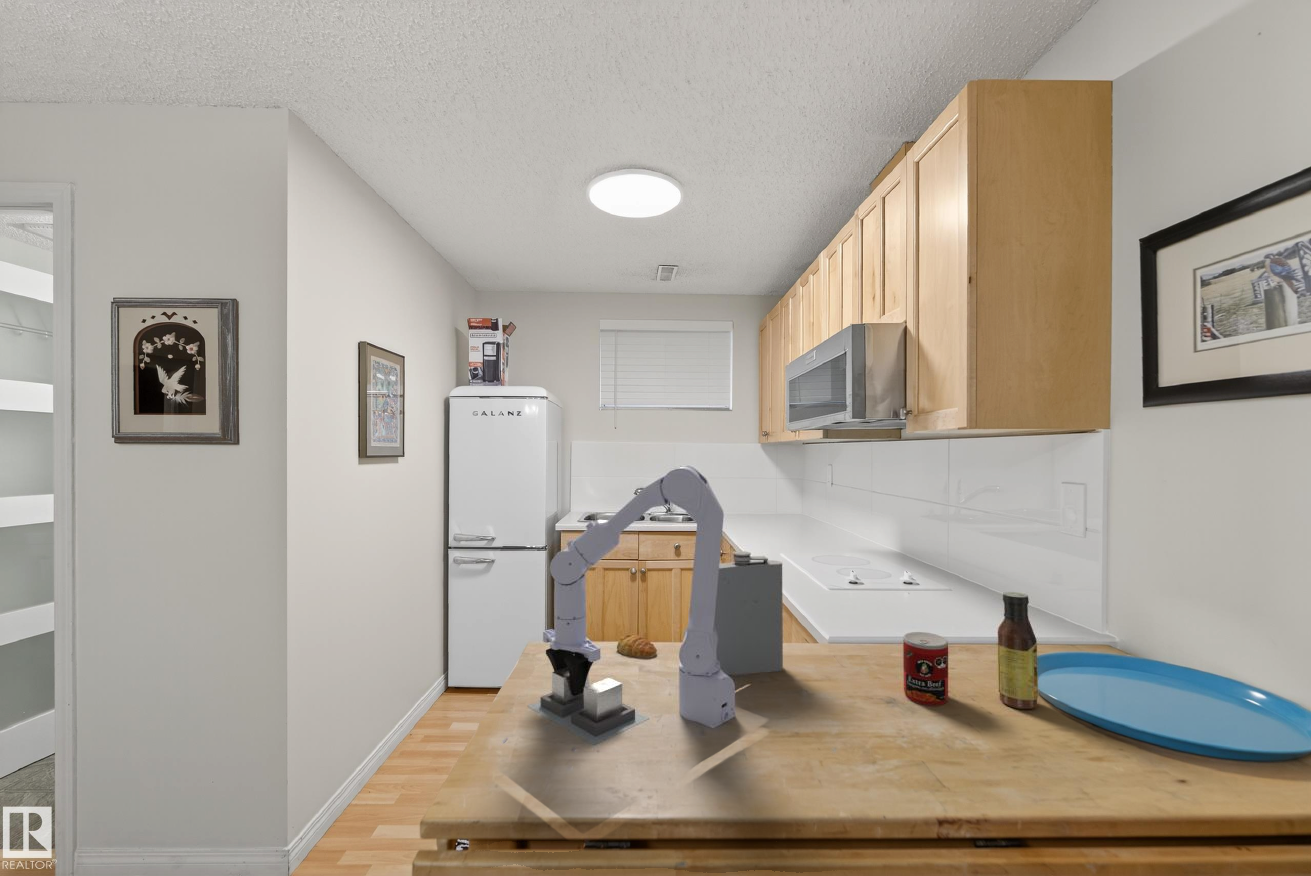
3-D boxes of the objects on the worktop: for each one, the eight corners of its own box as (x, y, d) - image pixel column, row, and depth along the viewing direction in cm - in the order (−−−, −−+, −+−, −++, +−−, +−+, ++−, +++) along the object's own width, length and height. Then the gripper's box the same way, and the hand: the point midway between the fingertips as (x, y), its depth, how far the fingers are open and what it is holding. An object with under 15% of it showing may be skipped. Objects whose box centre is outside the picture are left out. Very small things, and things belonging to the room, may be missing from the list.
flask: (775, 662, 128) (774, 547, 128) (785, 670, 124) (784, 551, 124) (700, 671, 123) (699, 552, 123) (708, 680, 119) (707, 556, 119)
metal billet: (588, 701, 107) (588, 668, 107) (564, 712, 103) (563, 677, 103) (576, 695, 109) (576, 663, 109) (552, 705, 106) (552, 672, 106)
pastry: (663, 655, 133) (663, 638, 133) (644, 664, 128) (643, 647, 128) (633, 645, 139) (632, 629, 139) (613, 654, 134) (613, 637, 134)
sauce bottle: (1044, 712, 104) (1043, 600, 104) (1005, 709, 106) (1005, 598, 105) (1028, 696, 111) (1028, 590, 111) (992, 693, 112) (992, 589, 112)
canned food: (901, 701, 109) (901, 641, 109) (905, 684, 116) (905, 629, 116) (947, 709, 106) (947, 648, 106) (949, 692, 113) (948, 635, 113)
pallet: (649, 725, 101) (649, 708, 101) (594, 752, 92) (594, 734, 92) (580, 691, 114) (580, 677, 114) (527, 712, 106) (527, 696, 106)
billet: (622, 718, 101) (622, 683, 101) (597, 729, 97) (597, 693, 97) (608, 711, 103) (608, 677, 103) (584, 722, 99) (583, 687, 99)
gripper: (529, 611, 109) (529, 685, 109) (577, 629, 98) (577, 710, 98) (560, 603, 114) (560, 673, 114) (609, 619, 103) (609, 697, 103)
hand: (570, 690), depth 106 cm, fingers closed on metal billet, 3 cm apart
